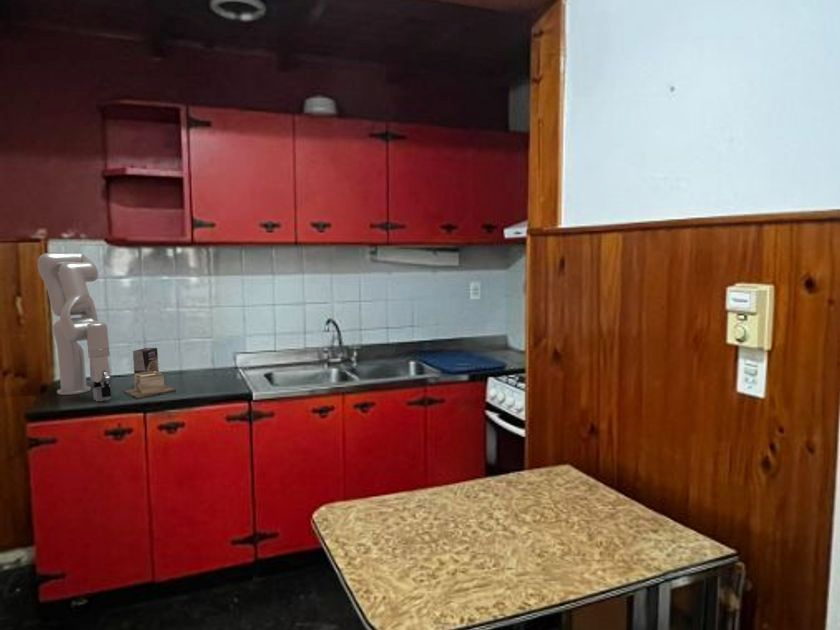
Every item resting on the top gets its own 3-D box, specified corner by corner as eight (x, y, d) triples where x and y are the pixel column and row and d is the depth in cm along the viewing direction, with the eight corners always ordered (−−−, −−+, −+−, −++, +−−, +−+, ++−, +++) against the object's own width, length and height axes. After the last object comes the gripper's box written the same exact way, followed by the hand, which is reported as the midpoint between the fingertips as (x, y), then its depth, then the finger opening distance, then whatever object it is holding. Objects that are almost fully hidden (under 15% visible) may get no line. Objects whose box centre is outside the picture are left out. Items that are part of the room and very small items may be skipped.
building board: (123, 392, 257) (121, 374, 256) (161, 386, 268) (160, 368, 267) (136, 399, 245) (135, 379, 244) (176, 391, 256) (174, 373, 255)
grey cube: (93, 399, 245) (92, 387, 245) (107, 397, 249) (106, 385, 248) (97, 402, 242) (96, 389, 241) (111, 399, 245) (110, 387, 245)
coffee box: (147, 387, 266) (144, 351, 264) (134, 386, 268) (131, 350, 266) (160, 382, 275) (157, 347, 273) (147, 382, 276) (145, 347, 275)
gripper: (82, 352, 247) (86, 393, 248) (95, 356, 234) (99, 400, 236) (102, 350, 252) (105, 390, 254) (116, 354, 240) (119, 396, 241)
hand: (102, 394), depth 245 cm, fingers open, 9 cm apart
